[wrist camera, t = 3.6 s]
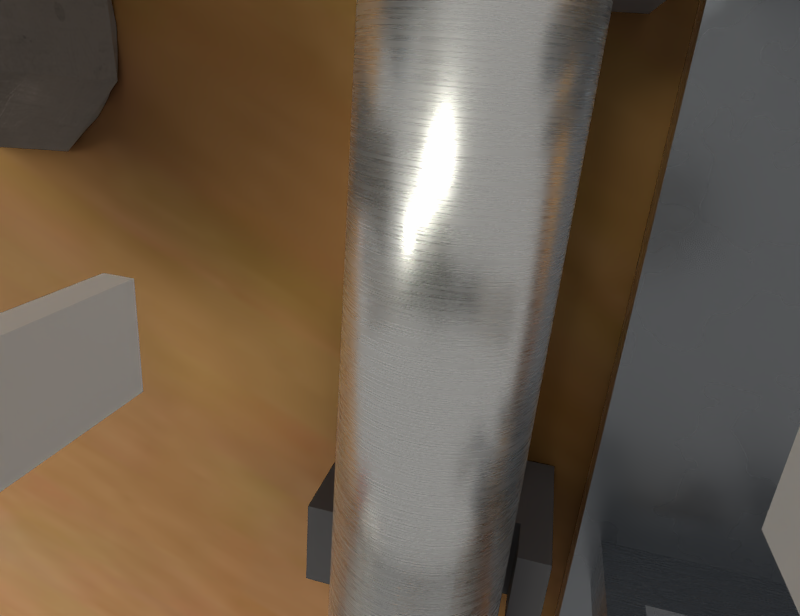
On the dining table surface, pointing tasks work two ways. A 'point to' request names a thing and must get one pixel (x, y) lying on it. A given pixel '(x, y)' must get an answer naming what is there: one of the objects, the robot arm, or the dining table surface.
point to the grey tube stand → (705, 344)
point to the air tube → (451, 286)
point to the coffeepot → (54, 70)
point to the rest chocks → (533, 514)
